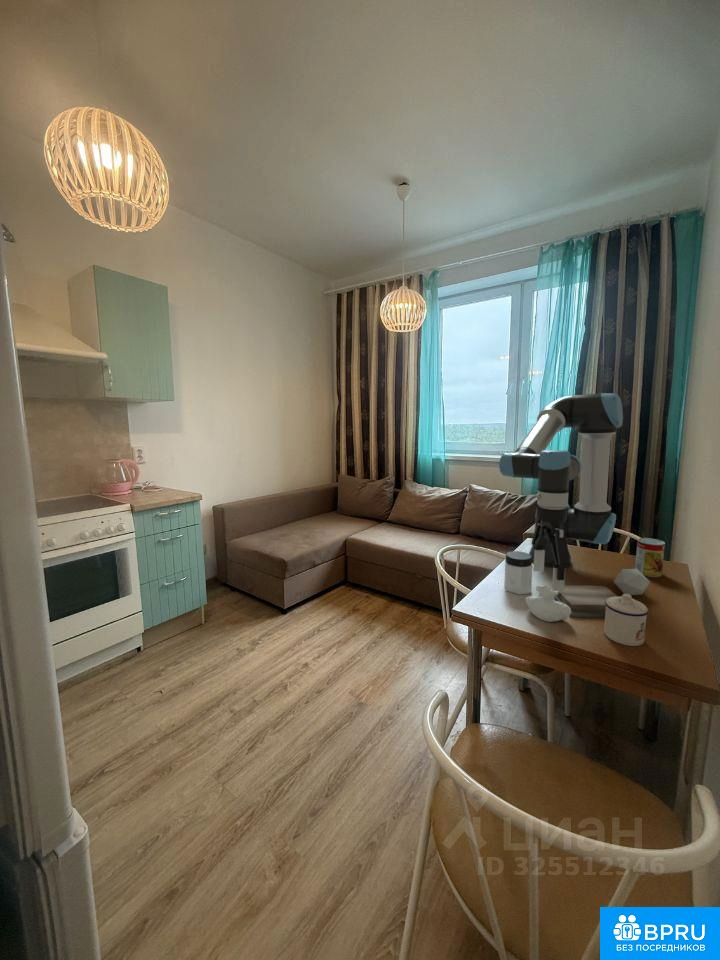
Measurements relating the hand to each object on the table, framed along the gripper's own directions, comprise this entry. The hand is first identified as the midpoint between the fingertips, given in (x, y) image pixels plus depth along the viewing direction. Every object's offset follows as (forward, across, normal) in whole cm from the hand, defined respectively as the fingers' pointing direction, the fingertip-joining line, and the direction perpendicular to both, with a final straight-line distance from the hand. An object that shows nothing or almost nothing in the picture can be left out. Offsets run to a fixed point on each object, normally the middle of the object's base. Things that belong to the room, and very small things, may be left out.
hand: (547, 580), depth 108 cm
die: (+11, -17, +33) cm, 39 cm away
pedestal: (+11, -9, +16) cm, 22 cm away
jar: (+12, -19, -2) cm, 23 cm away
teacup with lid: (+12, +8, +17) cm, 22 cm away
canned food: (+11, -34, +49) cm, 61 cm away
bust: (+12, 0, 0) cm, 12 cm away
